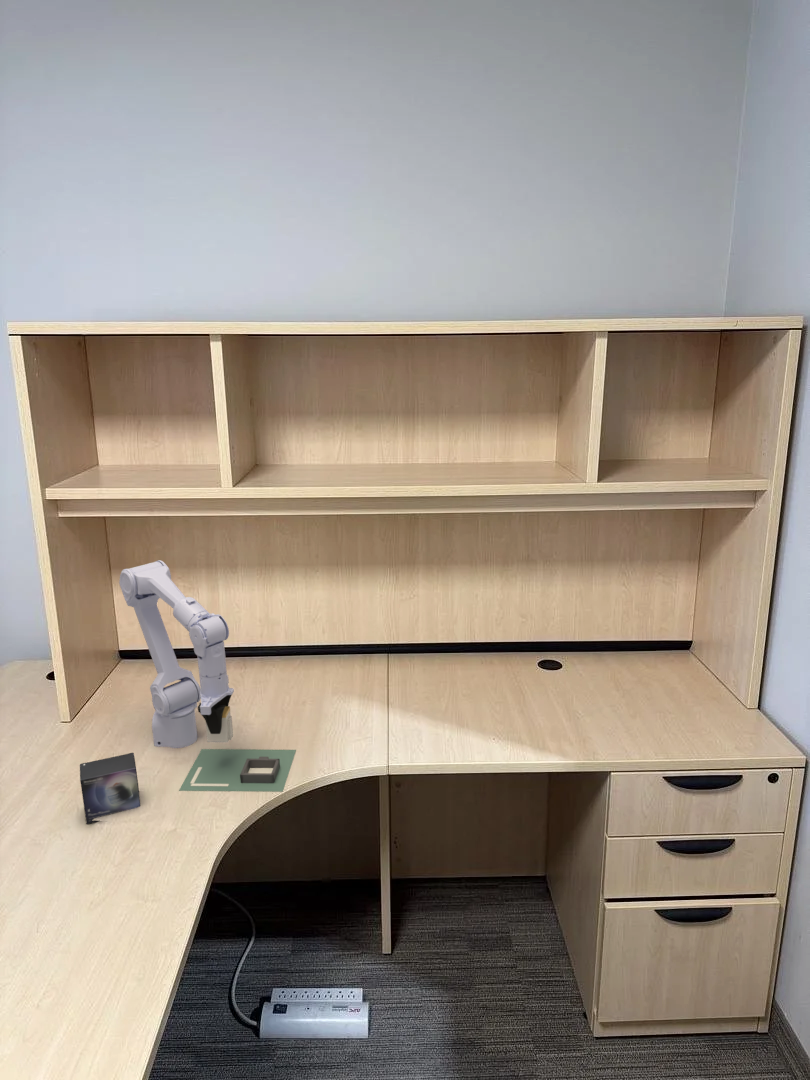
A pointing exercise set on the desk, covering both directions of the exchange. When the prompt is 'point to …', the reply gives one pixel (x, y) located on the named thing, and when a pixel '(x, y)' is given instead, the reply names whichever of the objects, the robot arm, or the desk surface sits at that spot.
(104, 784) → the small box
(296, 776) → the desk surface
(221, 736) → the plug
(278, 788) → the board
